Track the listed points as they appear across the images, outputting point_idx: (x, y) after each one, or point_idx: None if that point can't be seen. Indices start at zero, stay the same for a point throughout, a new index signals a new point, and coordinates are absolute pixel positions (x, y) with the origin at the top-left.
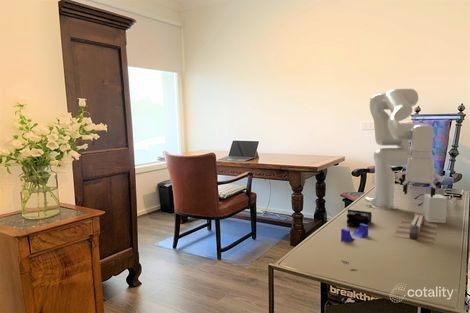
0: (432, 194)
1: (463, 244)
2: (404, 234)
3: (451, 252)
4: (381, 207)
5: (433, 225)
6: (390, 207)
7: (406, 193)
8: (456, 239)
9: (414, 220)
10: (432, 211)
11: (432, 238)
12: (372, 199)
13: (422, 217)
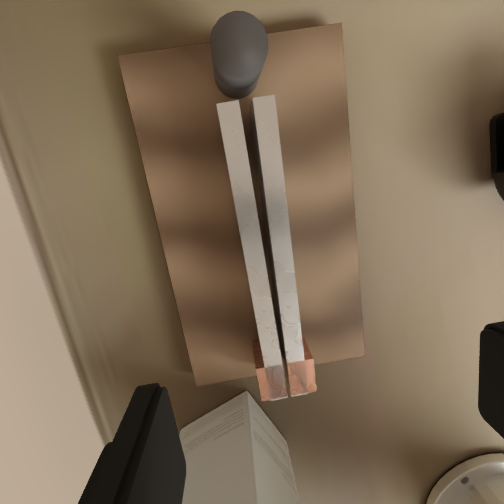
0: (125, 418)
1: (26, 219)
2: (295, 105)
3: (25, 44)
4: (492, 473)
5: (210, 362)
6: (454, 498)
7: (486, 347)
8: (77, 271)
9: (283, 242)
10: (234, 461)
11: (150, 143)
12: None
13: (260, 342)
